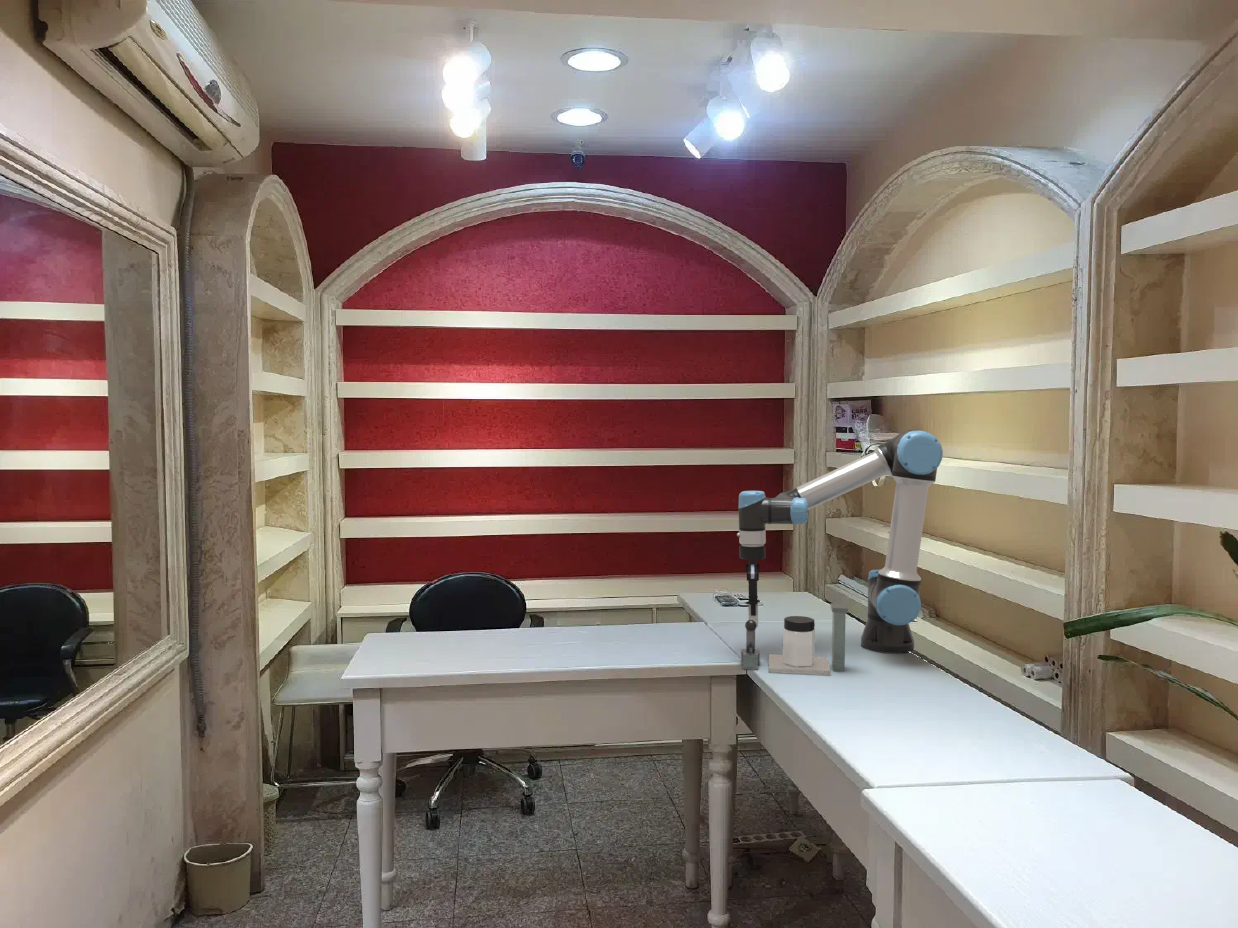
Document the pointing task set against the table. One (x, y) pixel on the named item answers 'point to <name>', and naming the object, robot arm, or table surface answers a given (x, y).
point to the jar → (798, 641)
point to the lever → (750, 639)
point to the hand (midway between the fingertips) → (753, 625)
